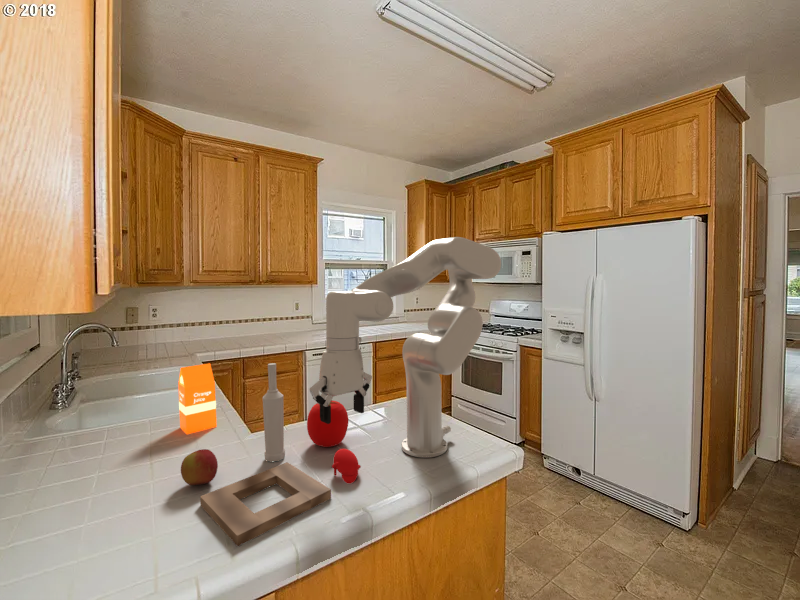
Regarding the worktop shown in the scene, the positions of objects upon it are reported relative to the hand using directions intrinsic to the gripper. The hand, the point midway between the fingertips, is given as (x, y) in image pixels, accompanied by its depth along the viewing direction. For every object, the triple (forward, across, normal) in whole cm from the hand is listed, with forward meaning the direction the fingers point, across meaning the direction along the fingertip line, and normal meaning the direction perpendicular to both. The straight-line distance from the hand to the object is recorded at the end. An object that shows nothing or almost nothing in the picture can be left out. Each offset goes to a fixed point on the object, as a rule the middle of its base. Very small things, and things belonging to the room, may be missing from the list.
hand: (342, 416), depth 90 cm
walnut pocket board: (+15, +17, -4) cm, 23 cm away
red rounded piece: (+15, -1, 0) cm, 15 cm away
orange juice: (+15, +12, -59) cm, 62 cm away
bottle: (+15, +6, -21) cm, 26 cm away
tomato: (+15, -9, -18) cm, 25 cm away
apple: (+15, +24, -22) cm, 36 cm away
